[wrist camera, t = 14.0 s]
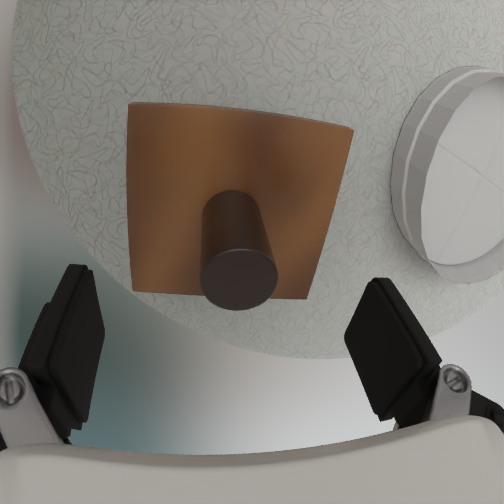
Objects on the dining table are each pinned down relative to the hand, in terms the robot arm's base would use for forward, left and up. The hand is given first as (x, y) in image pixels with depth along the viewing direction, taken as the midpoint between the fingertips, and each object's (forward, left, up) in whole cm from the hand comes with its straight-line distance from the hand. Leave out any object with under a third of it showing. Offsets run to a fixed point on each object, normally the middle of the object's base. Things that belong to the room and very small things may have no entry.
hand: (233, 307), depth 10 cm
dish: (+25, +4, -16) cm, 30 cm away
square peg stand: (0, 0, -8) cm, 8 cm away
